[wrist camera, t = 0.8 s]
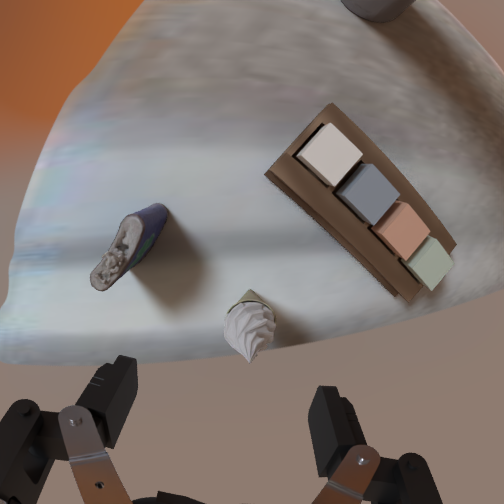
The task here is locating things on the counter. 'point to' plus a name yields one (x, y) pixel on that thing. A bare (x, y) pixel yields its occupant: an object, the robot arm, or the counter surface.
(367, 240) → the brown wooden tray
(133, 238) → the flask
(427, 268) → the sage key
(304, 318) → the counter surface
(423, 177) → the counter surface
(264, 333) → the ice cream cone
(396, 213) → the terracotta key
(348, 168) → the ivory key
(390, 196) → the slate key
